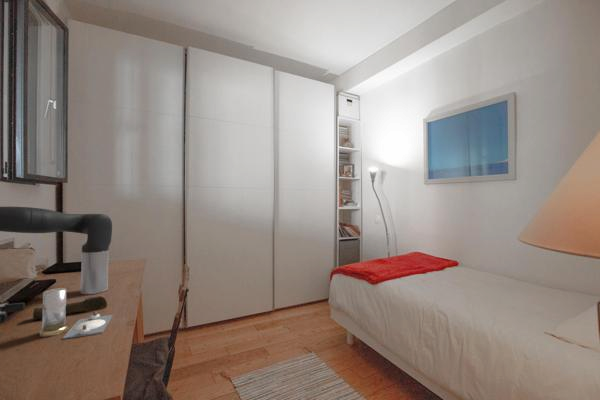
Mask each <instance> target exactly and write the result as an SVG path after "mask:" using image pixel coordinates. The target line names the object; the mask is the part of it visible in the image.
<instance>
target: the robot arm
mask: <svg viewBox="0 0 600 400" xmlns="http://www.w3.org/2000/svg"><path fill="white" fill-rule="evenodd" d="M0 232H3V233H4V232H5V233H19V234H50V233H51V234H52V233H59V232H62V233H63V232H69V233H76V234H83V235H87V239H86V242H85V243H84V244H82V247H81V266H80V267H81V268H80V269H81V271H80V295H81V294H82V295H93V294H99V293H103V292H106V291H108V289H109V287H108V286H109V256H110V255H109V253H110V249H109V248H110V245H111V243H112V235H113V221H112V219H111V217H109V216H108V215H106V214H103V213H85V214H84V213H65V212H60V211H56V210H53V209H52V210H51V209H47V208H40V207H39V208H38V207H29V206H0ZM25 305H26V303H25V302H15V303H9V301H0V324H3V323H6V322H7V321H8V314H7V313H15V312H23V311H24V310H25V309H26V306H25Z"/></svg>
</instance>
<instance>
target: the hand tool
mask: <svg viewBox="0 0 600 400" xmlns="http://www.w3.org/2000/svg"><path fill="white" fill-rule="evenodd" d="M107 307H108V302H107V300H106V298H105V297H103V296H93V297H88V298H86V299H84V300H83V301H77V302H73V303H66V315H69V314H75V313H80V312H85V313H90V312H96V311H99V310H102V309H105V308H107ZM42 318H43V307H41V308H40V307H35V308H34V309H33V312H32V319H33V321H34V322H35V321H37V320H40V321H42Z"/></svg>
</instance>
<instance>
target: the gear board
mask: <svg viewBox="0 0 600 400" xmlns="http://www.w3.org/2000/svg"><path fill="white" fill-rule="evenodd" d="M113 315H114V314H110V315H100V313H98V311H93V314H91V315H90V316H89V317H87V318H79V319H78V320H77V321H76V322H75V323H74V324H73V326H71V328H70V329H69V330H67V331H66V334H65V335H64V336H63V337H62V340H67V339H68V340H69V339H76V338H79V337H86V336H93V335H98V334H99V335H100V334H103V333H104V331H105V329H106V328H107V326H108V325H109V323H110V322H111V320H112V318H113V317H114V316H113Z"/></svg>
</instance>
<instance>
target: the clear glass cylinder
mask: <svg viewBox="0 0 600 400" xmlns="http://www.w3.org/2000/svg"><path fill="white" fill-rule="evenodd" d="M66 304H67V288H66V287H58V288H52V289H47V290H45V291H43V293H42V308H43V318H42V319H41V321H42V323H41V324H42V326H41V329H39V337H41V338H50V337H54V336H58V335H61V334H63V333H65V332H68V329H69V328H68V323H66V318H67V317H66V316H67V314H66Z"/></svg>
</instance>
